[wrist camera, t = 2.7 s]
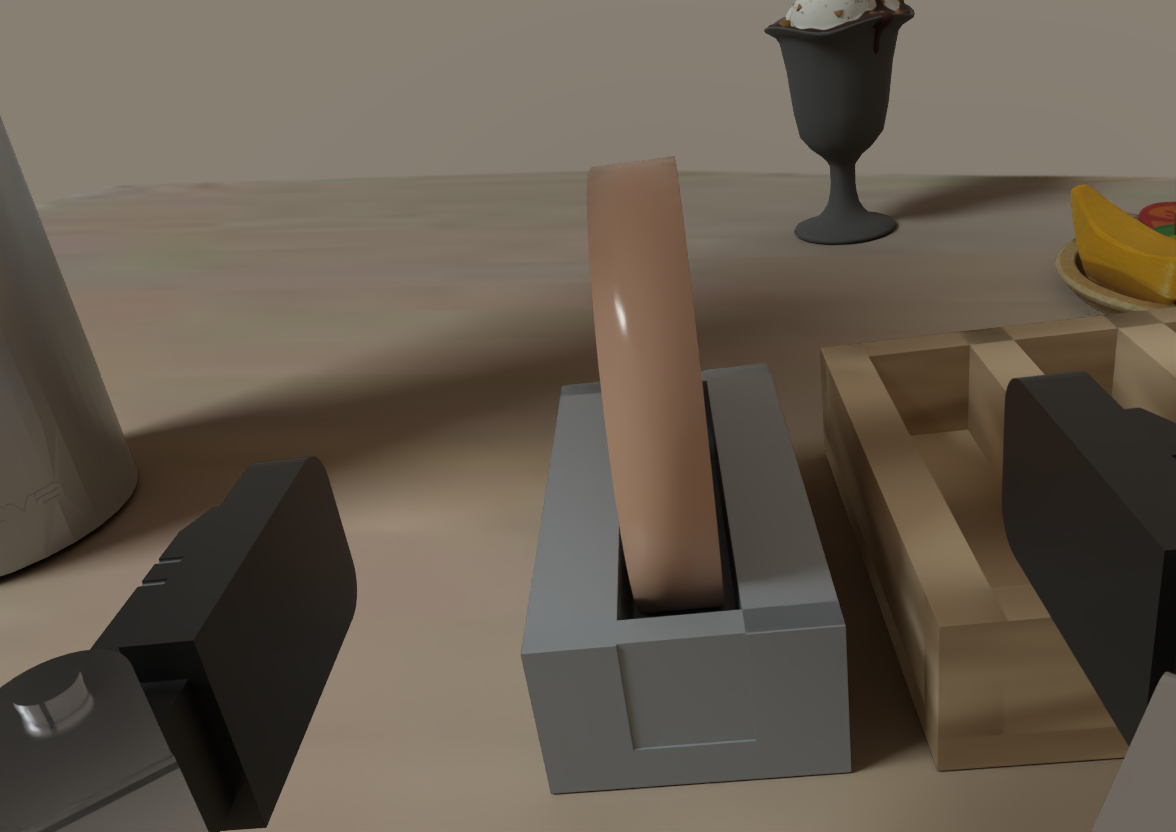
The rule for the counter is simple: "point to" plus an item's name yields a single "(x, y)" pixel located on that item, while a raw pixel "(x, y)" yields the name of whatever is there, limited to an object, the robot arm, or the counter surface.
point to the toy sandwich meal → (1120, 254)
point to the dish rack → (975, 524)
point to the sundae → (841, 99)
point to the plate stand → (686, 617)
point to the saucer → (652, 386)
